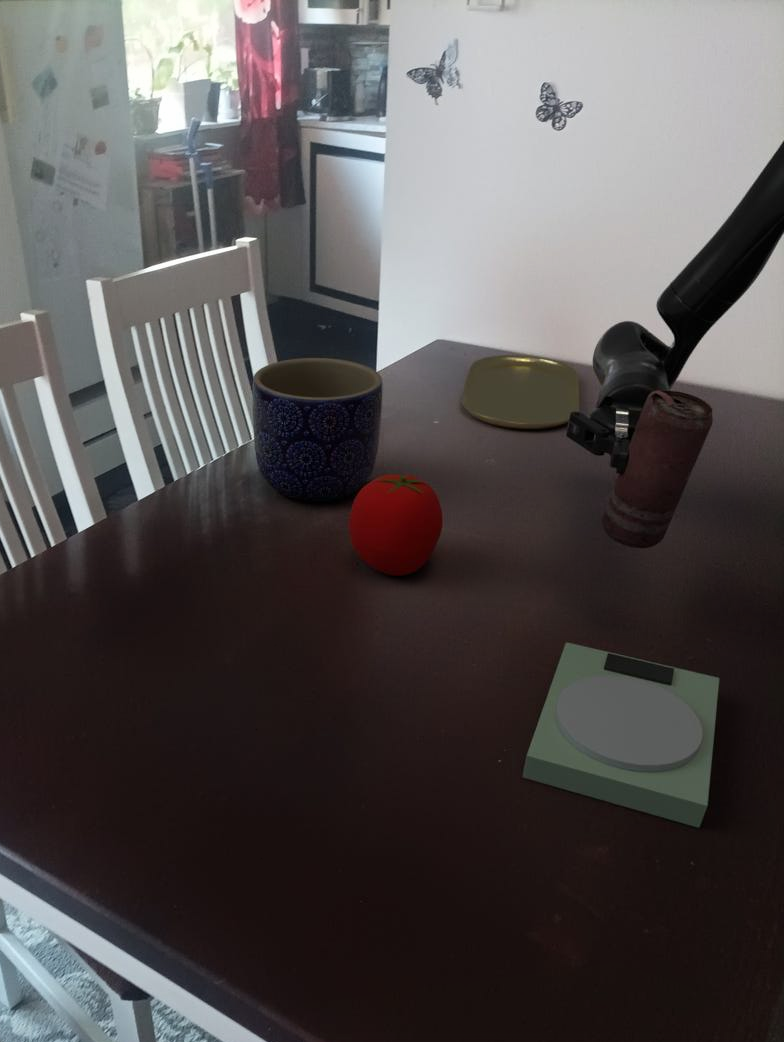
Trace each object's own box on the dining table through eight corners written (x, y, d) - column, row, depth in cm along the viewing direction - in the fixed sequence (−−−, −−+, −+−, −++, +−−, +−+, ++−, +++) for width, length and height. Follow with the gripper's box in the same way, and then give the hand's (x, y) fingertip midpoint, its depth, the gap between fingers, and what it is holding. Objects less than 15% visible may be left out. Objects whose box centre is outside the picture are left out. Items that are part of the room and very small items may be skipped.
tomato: (358, 591, 99) (363, 502, 93) (340, 546, 108) (343, 462, 102) (450, 584, 101) (460, 496, 95) (425, 540, 109) (433, 457, 103)
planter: (330, 452, 131) (334, 350, 123) (401, 494, 120) (410, 384, 112) (232, 477, 124) (228, 370, 115) (297, 524, 112) (298, 408, 104)
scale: (561, 662, 89) (567, 635, 87) (712, 699, 84) (722, 670, 82) (522, 777, 75) (528, 747, 73) (699, 828, 71) (710, 798, 69)
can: (613, 508, 93) (661, 380, 84) (671, 534, 90) (727, 405, 81) (587, 529, 89) (634, 398, 80) (646, 557, 87) (701, 425, 78)
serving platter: (454, 426, 140) (455, 416, 140) (473, 359, 168) (474, 351, 168) (577, 438, 137) (579, 428, 136) (576, 368, 165) (578, 359, 164)
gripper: (576, 363, 98) (562, 417, 84) (707, 378, 94) (714, 436, 81) (564, 430, 102) (548, 491, 88) (688, 446, 99) (692, 512, 85)
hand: (627, 464), depth 84 cm, fingers closed
